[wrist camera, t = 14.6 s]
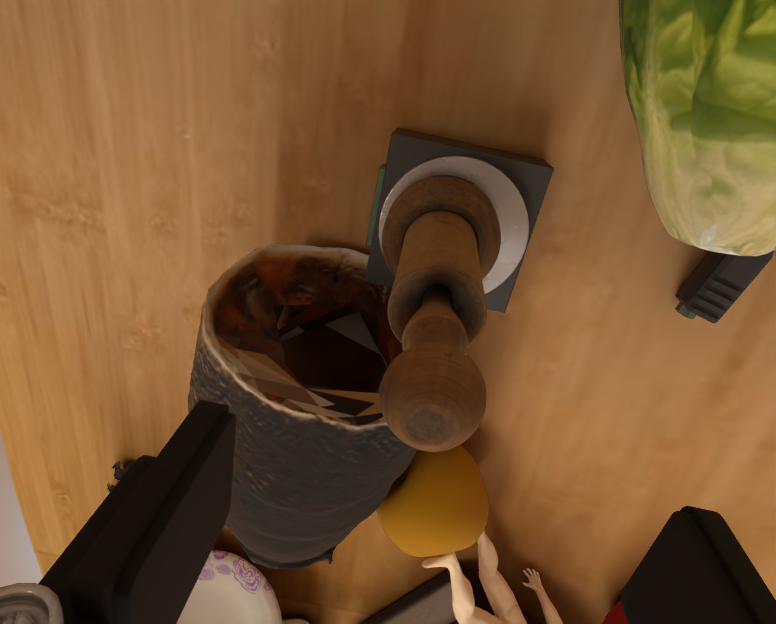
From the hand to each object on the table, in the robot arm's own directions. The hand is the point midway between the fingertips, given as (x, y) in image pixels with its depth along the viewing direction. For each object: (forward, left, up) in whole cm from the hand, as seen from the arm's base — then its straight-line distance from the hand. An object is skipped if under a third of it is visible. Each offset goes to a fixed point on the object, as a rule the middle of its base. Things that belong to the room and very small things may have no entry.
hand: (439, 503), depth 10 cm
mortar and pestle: (0, 0, -21) cm, 21 cm away
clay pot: (-6, -16, -25) cm, 30 cm away
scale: (0, 0, -25) cm, 25 cm away
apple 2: (+8, -23, -21) cm, 32 cm away
